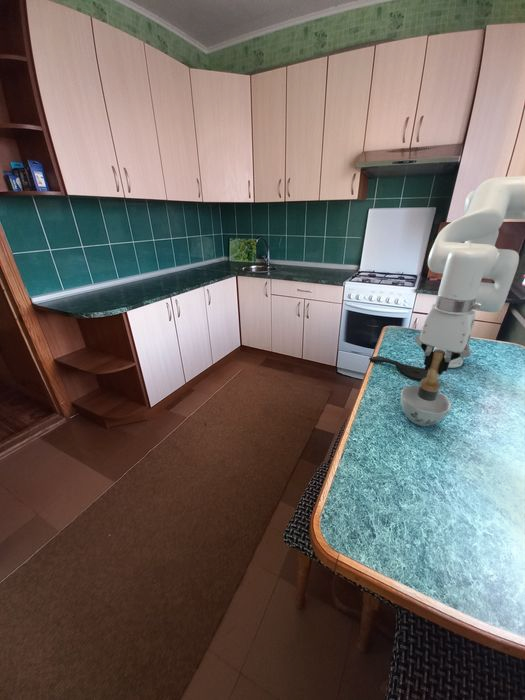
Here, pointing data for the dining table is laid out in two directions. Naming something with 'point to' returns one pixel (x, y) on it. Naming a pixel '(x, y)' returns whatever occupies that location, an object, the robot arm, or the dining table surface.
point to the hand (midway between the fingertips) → (434, 369)
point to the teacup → (423, 407)
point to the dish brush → (431, 378)
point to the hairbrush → (405, 368)
